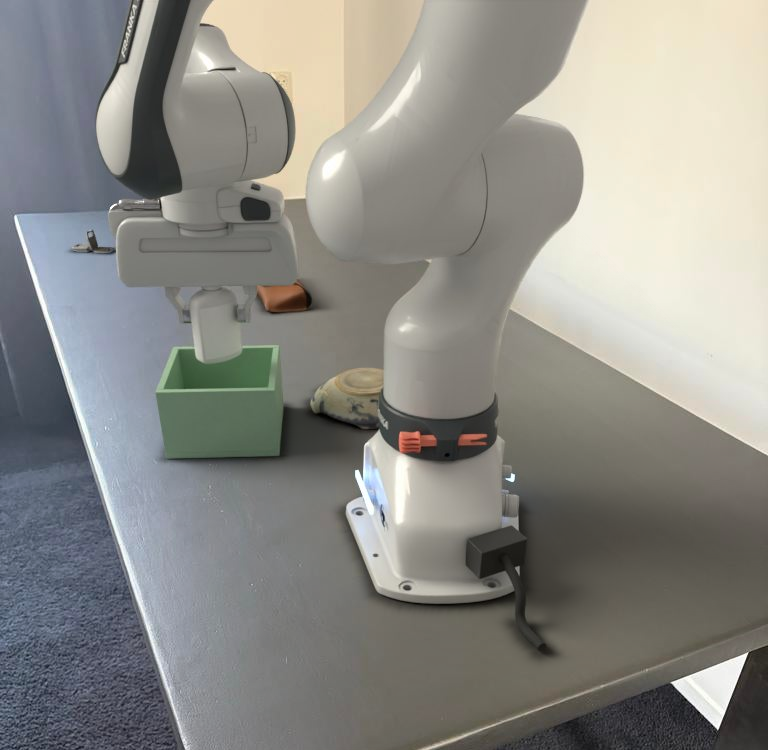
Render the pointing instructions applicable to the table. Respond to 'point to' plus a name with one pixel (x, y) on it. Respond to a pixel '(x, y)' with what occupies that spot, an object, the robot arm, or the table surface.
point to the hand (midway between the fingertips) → (216, 321)
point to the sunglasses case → (285, 297)
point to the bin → (221, 404)
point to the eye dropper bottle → (215, 324)
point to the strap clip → (91, 245)
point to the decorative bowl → (351, 397)
